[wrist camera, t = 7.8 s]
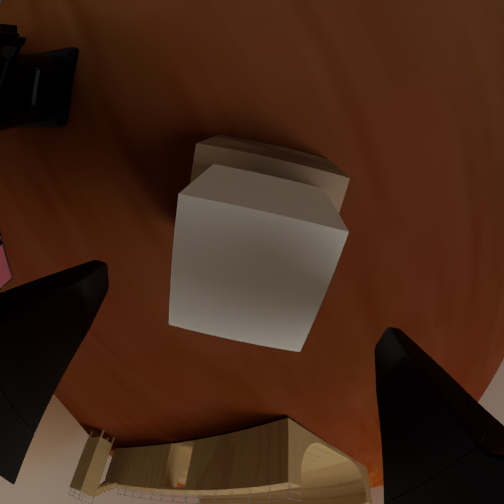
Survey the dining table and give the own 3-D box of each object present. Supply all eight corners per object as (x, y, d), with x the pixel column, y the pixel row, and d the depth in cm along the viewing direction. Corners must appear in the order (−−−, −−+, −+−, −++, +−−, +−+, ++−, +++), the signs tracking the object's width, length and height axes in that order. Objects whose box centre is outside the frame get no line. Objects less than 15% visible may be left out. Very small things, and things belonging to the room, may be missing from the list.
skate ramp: (212, 489, 54) (204, 540, 40) (91, 429, 41) (67, 493, 27) (366, 461, 41) (374, 531, 26) (257, 388, 28) (246, 531, 14)
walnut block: (204, 231, 21) (179, 275, 15) (220, 134, 17) (196, 143, 12) (299, 252, 21) (306, 303, 15) (327, 158, 18) (349, 178, 12)
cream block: (199, 260, 15) (168, 324, 10) (213, 164, 12) (178, 193, 8) (294, 281, 15) (299, 352, 10) (323, 188, 13) (348, 231, 8)
